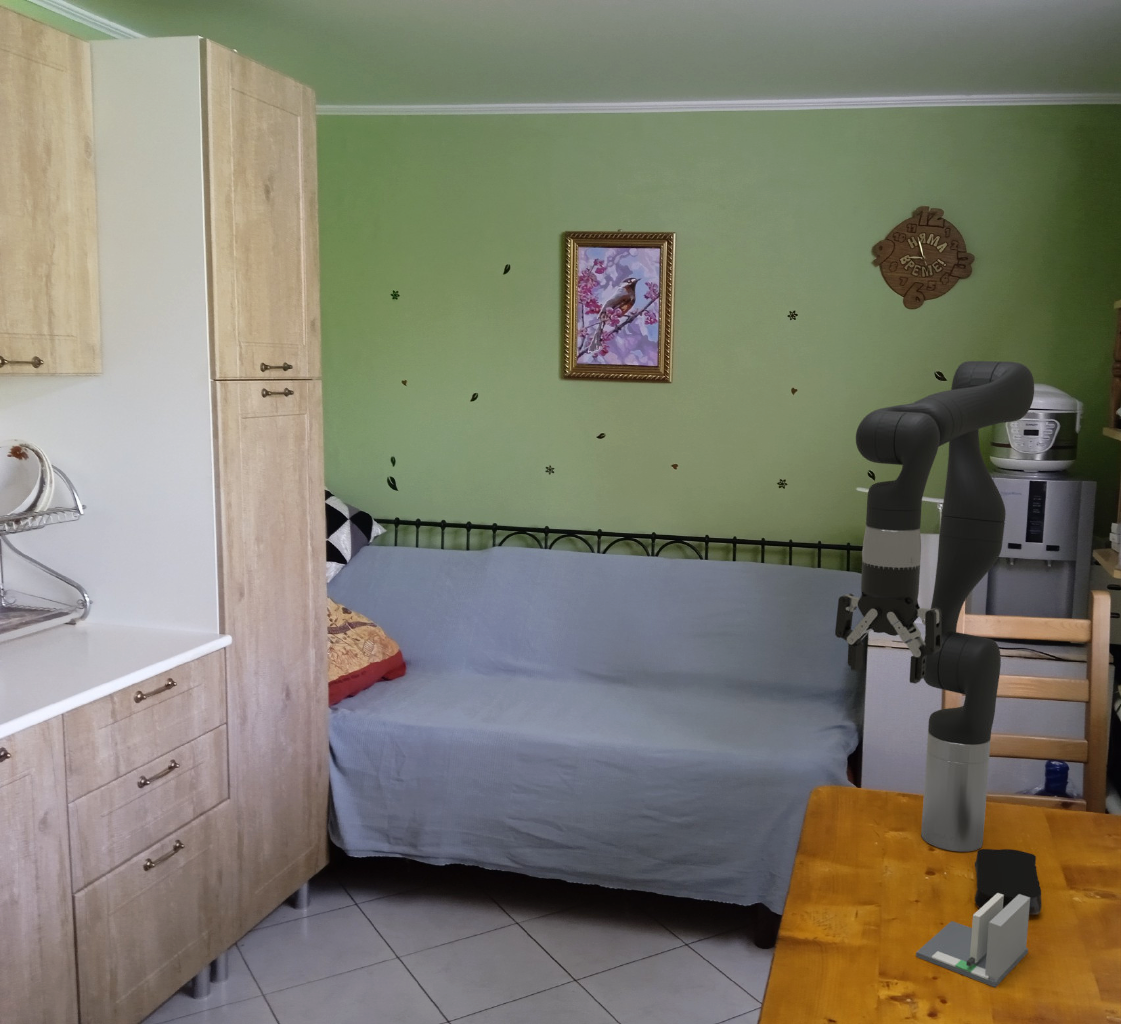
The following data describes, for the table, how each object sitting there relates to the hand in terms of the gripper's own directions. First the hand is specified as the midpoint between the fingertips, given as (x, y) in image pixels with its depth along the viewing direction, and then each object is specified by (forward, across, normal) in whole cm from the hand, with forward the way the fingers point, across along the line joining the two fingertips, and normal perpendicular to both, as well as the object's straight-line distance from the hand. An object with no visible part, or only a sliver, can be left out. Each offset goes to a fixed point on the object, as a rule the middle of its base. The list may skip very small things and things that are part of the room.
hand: (885, 675), depth 151 cm
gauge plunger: (+30, -18, +7) cm, 36 cm away
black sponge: (+33, -14, -14) cm, 38 cm away
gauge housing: (+32, -16, +7) cm, 36 cm away
